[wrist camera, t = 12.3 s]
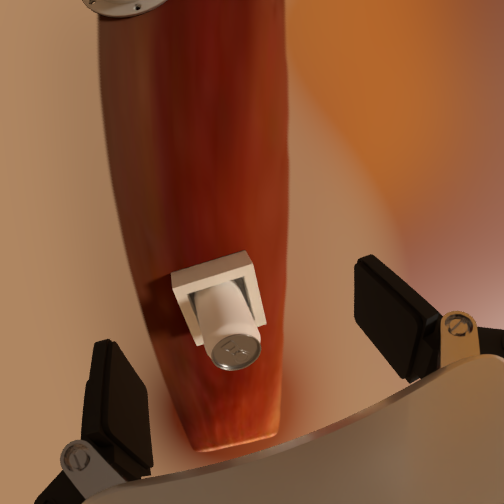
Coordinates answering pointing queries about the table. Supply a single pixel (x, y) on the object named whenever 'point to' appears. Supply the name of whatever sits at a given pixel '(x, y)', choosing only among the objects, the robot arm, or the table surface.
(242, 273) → the dock socket
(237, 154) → the table surface
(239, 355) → the can
